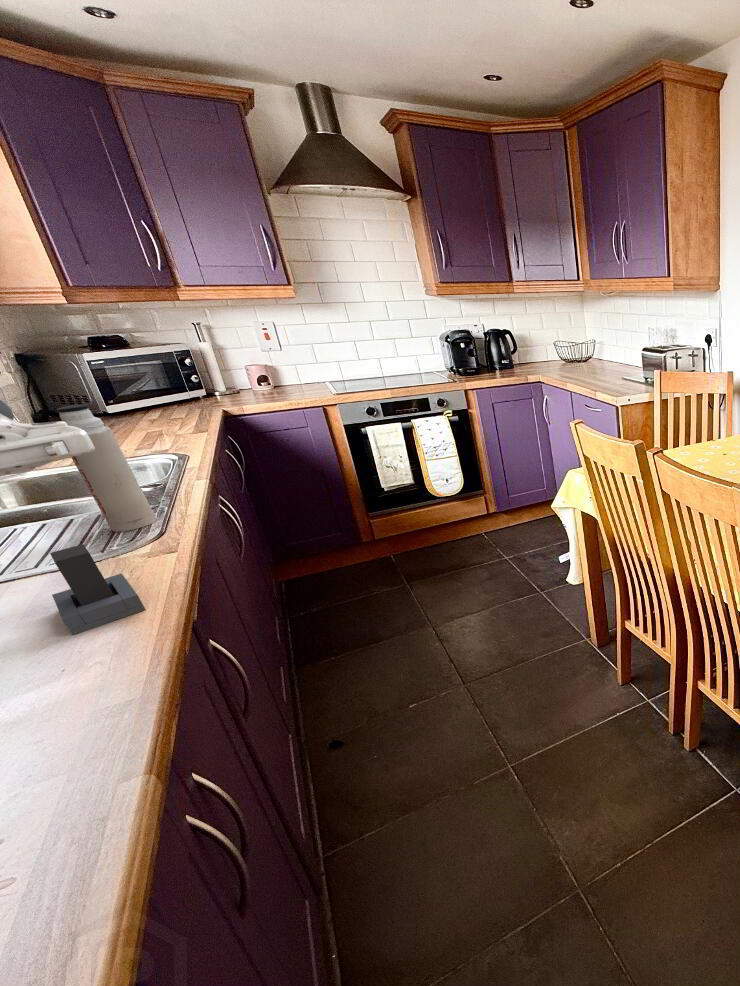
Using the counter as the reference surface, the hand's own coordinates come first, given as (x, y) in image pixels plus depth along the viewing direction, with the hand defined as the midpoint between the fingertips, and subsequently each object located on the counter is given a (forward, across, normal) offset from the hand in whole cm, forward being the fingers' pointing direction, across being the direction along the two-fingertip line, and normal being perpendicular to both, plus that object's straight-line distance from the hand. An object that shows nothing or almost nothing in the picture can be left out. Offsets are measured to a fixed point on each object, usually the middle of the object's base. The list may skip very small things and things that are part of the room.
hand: (13, 460), depth 96 cm
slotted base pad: (+12, 0, +25) cm, 28 cm away
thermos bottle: (-38, +12, +25) cm, 47 cm away
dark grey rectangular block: (+12, 0, +24) cm, 27 cm away
